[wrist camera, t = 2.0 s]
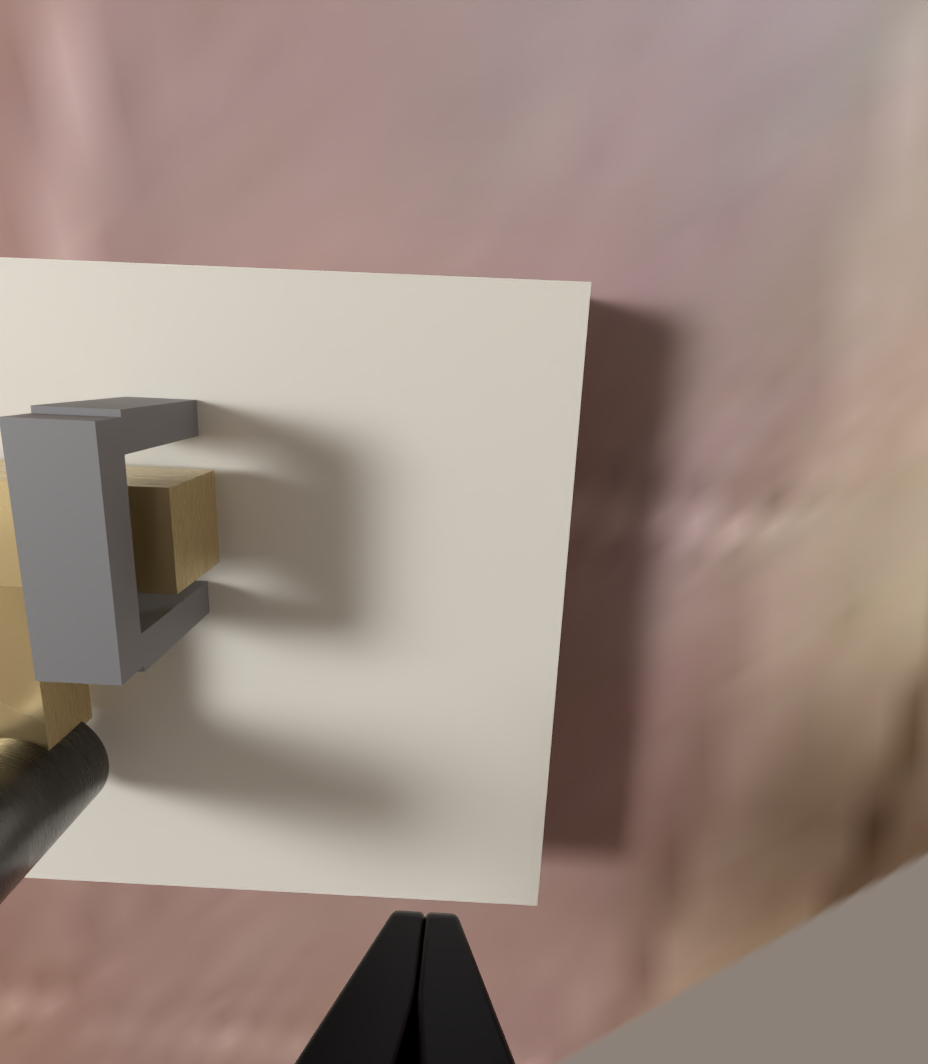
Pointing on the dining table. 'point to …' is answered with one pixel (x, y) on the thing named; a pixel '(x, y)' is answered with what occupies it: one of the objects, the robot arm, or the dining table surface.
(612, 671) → the dining table surface
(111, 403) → the door board
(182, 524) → the bolt
